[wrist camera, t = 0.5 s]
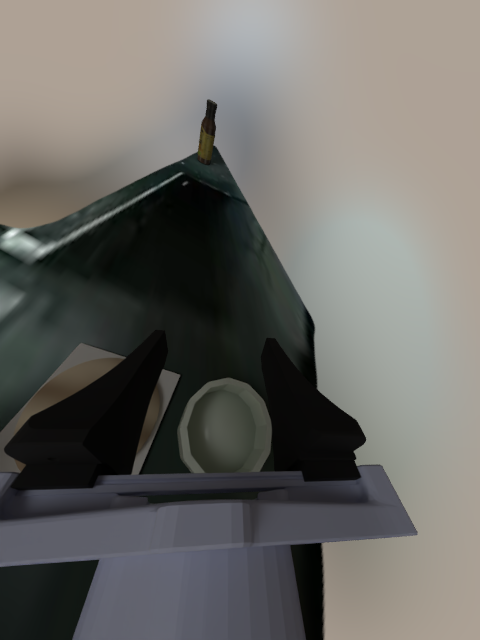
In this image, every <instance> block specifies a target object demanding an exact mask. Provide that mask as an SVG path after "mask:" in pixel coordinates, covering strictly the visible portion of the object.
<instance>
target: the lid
mask: <svg viewBox="0 0 480 640" xmlns="http://www.w3.org/2000/svg"><path fill="white" fill-rule="evenodd" d="M123 360H124V359H121V358H101V359H95V360H91V361H87V362H84V363H81V364H78V365H76V366H74V367H71V368H69V369H67V370H66V371H64V372H62V373H60V374H59V375H57V376H56V377H54V378H53V379H52V380H50V381H49V382H48V383H47V384H45V385H44V386H43V387H42V388H41V389H40V390H39V391H38V392H37V393H36V394H35V395H34V396H33V398H32V399H31V400H30V401H29V403H28V404H27V406H26V407H25V409H24V410H23V412H22V414H21V416H20V418H19V420H18V422H17V425H16V428H15V431H14V435H15V434H16V433H17V432H18V430H19V429H20V428H21V427H22V426H23V425H24V423H25V422H26V421H27V420H28V419H29V418H30V417H31V416H32V415H34V414H36V413H38V412H40V411H42V410H44V409H46V408H48V407H50V406H52V405H54V404H56V403H58V402H60V401H62V400H64V399H65V398H67V397H69V396H71V395H73V394H74V393H76V392H78V391H79V390H81V389H83V388H84V387H86V386H88V385H89V384H91V383H92V382H94V381H95V380H97V379H98V378H100V377H101V376H103V375H104V374H106V373H107V372H108V371H110V370H111V369H113V368H114V367H115V366H116V365H118V364H119V363H120V362H121V361H123ZM159 406H160V399H159V391H158V387H157V385H156V387H155V390H154V392H153V395H152V397H151V400H150V404H149V407H148V410H147V414H146V417H145V421H144V425H143V428H142V432H141V436H140V440H139V444H138V448H137V453H138V451H139V450H140V449H141V448H142V446H143V445H144V444H145V442H146V441H147V439H148V438H149V436H150V434H151V432H152V430H153V428H154V426H155V423H156V421H157V417H158V413H159ZM137 453H136V454H137ZM14 460H15V462H16V465H17V467H18V469H19V470H20V471H22V470H23V468H24V467H25V466H26V465H25V464H23V463H21V462H19V461H18V460H16V459H14Z"/></svg>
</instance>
